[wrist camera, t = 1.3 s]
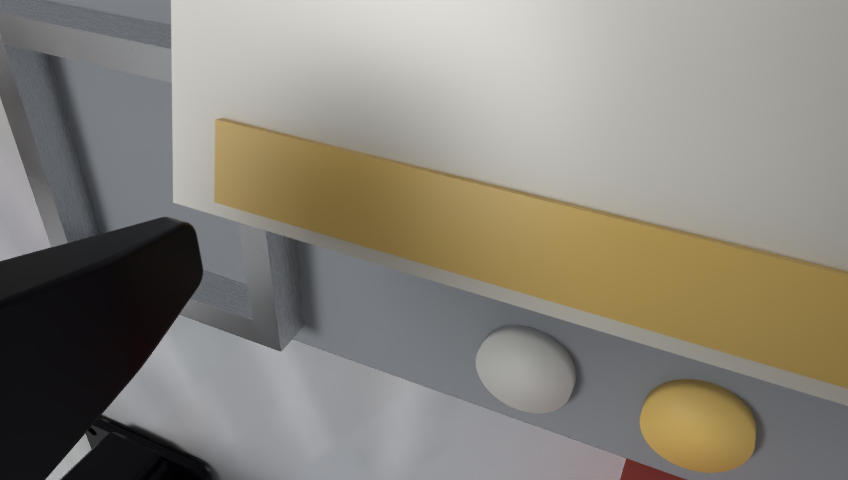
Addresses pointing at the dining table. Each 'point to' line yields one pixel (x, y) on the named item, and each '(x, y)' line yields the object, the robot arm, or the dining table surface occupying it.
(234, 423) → the dining table surface
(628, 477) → the red block
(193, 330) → the dining table surface
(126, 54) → the socket
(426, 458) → the dining table surface
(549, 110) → the yellow-striped white slab
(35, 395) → the robot arm
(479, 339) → the panel
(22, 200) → the dining table surface
